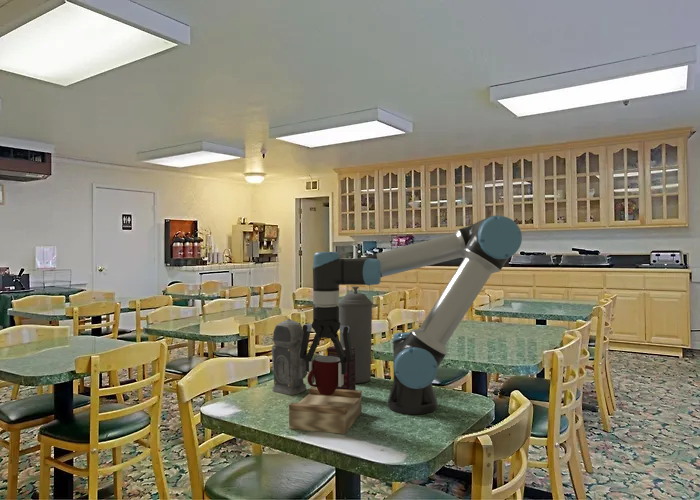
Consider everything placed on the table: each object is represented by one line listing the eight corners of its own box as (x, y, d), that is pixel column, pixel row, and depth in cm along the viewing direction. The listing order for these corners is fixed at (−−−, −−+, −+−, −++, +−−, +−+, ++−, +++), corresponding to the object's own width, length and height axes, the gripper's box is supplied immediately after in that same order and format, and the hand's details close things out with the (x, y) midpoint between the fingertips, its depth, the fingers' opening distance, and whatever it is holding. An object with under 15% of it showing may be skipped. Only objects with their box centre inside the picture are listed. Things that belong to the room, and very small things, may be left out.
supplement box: (356, 394, 170) (356, 347, 169) (349, 398, 165) (348, 350, 165) (334, 391, 174) (334, 345, 174) (326, 394, 170) (326, 347, 170)
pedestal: (361, 412, 151) (361, 390, 151) (345, 433, 134) (344, 409, 134) (311, 408, 156) (311, 387, 155) (289, 428, 138) (288, 404, 138)
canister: (334, 383, 183) (334, 287, 183) (344, 374, 196) (343, 285, 196) (368, 385, 180) (368, 288, 180) (376, 376, 192) (375, 285, 192)
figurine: (296, 396, 168) (296, 321, 167) (265, 390, 176) (265, 318, 176) (314, 389, 176) (314, 318, 175) (284, 383, 184) (283, 315, 184)
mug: (319, 401, 138) (320, 365, 138) (300, 394, 144) (301, 359, 144) (346, 394, 146) (347, 359, 146) (327, 387, 152) (328, 354, 151)
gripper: (364, 304, 145) (364, 383, 145) (296, 302, 151) (297, 378, 151) (358, 307, 138) (358, 390, 138) (287, 305, 144) (287, 385, 144)
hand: (326, 384), depth 145 cm, fingers closed on mug, 8 cm apart
